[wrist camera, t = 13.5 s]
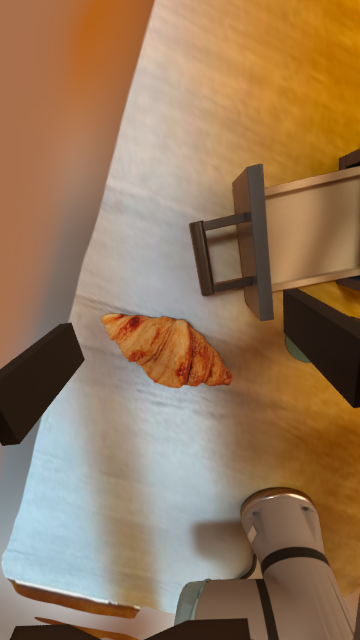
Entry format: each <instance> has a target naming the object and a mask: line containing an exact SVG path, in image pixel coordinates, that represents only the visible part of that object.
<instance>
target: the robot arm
mask: <svg viewBox="0 0 360 640" xmlns="http://www.w3.org/2000/svg"><path fill="white" fill-rule="evenodd" d="M283 314H284V333H285V334H286V336H287V337H288V338H289V339H290V340H291V341H292V342H293V343H294V344H295V345H296V346H297V347H298V349H299V350H300V351H301V352H302V353H303V354H304V355H305V356H306V357H307V358H308V359H309V360H310V362H311V363H312V364H313V365H314V366H315V367H316V368H317V369H318V370H319V371H320V372H321V373H322V375H323V376H324V377H325V378H326V379H327V380H328V381H329V382H330V383H331V384H332V385H333V386H334V388H335V389H336V390H337V391H338V392H339V393H340V394H341V395H342V396H343V397H344V398H345V399H346V401H347V402H348V403H349V404H350V405H351V406H352V407H353V408H359V407H360V319H359V318H355V317H349V316H347V315H345V314H343V313H341V312H339V311H338V310H336V309H334V308H332V307H330V306H328V305H327V304H325V303H323V302H321V301H319V300H318V299H316V298H314V297H312V296H310V295H308V294H307V293H305V292H303V291H301V290H299V289H298V288H294V289H287V290H283ZM84 360H85V359H84V356H83V354H82V351H81V348H80V345H79V343H78V340H77V337H76V334H75V332H74V329H73V326H72V323H65V324H59V325H58V326H57V327H56V328H54V329H53V330H52V331H50V332H49V333H48V334H46V335H45V336H44V337H42V338H41V339H40V340H38V341H37V342H36V343H34V344H33V345H32V346H30V347H29V348H28V349H26V350H25V351H24V352H23V353H21V354H20V355H19V356H18V357H16V358H15V359H13V360H12V361H11V362H9V363H8V364H7V365H5V366H4V367H3V368H2V369H0V443H1V444H2V446H5V445H15V444H20V443H21V441H22V440H23V439H24V438H25V436H26V435H27V434H28V432H29V431H30V430H31V429H32V427H33V426H34V425H35V423H36V422H37V421H38V419H39V418H40V417H41V416H42V414H43V413H44V412H45V411H46V409H47V408H48V407H49V405H50V404H51V403H52V401H53V400H54V399H55V398H56V396H57V395H58V394H59V392H60V391H61V390H62V389H63V387H64V386H65V385H66V383H67V382H68V381H69V380H70V378H71V377H72V376H73V374H74V373H75V372H76V371H77V369H78V368H79V367H80V365H81V364H82V363H83V361H84ZM240 515H241V521H242V526H243V528H244V531H245V533H246V535H247V538H248V540H249V542H250V544H251V546H252V548H253V550H254V552H255V553H254V557H253V565H252V568H251V569H250V570H249V571H248V572H247V573H246V574H245V575H244V576H242V577H241V578H239V579H226V580H211V579H210V578H208V579H205V580H204V581H195V582H189V583H187V584H186V585H185V586H184V588H183V589H182V592H181V594H180V597H179V600H178V605H177V610H176V616H175V623H174V626H173V627H171V628H169V629H167V630H164V631H162V632H160V633H158V634H155V635H153V636H151V637H149V638H147V639H145V640H360V597H359V603H358V611H357V618H356V625H355V623H354V621H353V618H352V616H351V614H350V612H349V609H348V607H347V605H346V602H345V600H344V598H343V595H342V593H341V591H340V588H339V586H338V584H337V581H336V579H335V577H334V574H333V572H332V570H331V567H330V565H329V563H328V560H327V558H326V555H325V552H324V547H323V541H322V535H321V529H320V523H319V517H318V513H317V511H316V508H315V506H314V504H313V502H312V500H311V499H310V498H309V497H308V496H307V495H305V494H304V493H302V492H300V491H297V490H294V489H289V488H273V489H267V490H264V491H261V492H258V493H256V494H254V495H253V496H251V497H250V498H248V499H247V500H246V501H245V503H244V504H243V506H242V508H241V512H240ZM257 559H258V561H259V563H260V567H261V572H262V576H263V579H247V578H248V577H250V576H251V575H252V574H253V572H254V571H255V568H256V562H257ZM10 640H101V639H99V638H97V637H94V636H92V635H90V634H88V633H86V632H84V631H82V630H80V629H78V628H75V627H73V626H71V625H69V624H64V625H36V626H16V627H15V629H14V632H13V634H12V636H11V638H10Z"/></svg>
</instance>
